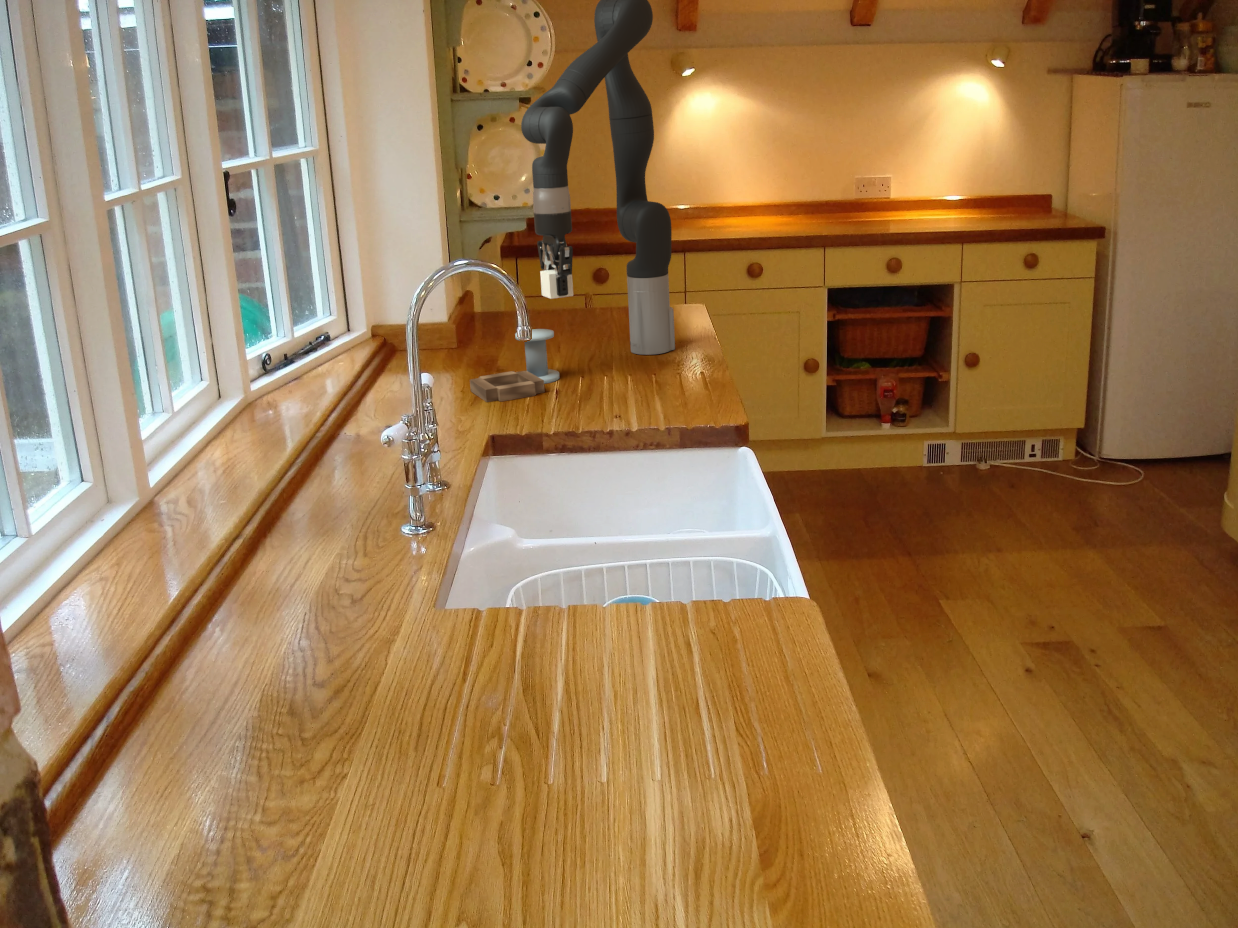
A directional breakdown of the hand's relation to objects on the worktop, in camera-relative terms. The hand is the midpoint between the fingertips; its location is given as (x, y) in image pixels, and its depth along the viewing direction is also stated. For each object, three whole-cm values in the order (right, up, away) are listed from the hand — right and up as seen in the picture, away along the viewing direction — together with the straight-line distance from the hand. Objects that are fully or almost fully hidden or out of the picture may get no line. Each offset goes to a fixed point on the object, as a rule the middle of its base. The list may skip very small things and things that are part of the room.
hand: (557, 293), depth 250 cm
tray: (-10, -21, -4) cm, 23 cm away
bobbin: (-4, -17, +4) cm, 18 cm away
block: (0, -1, 0) cm, 0 cm away
